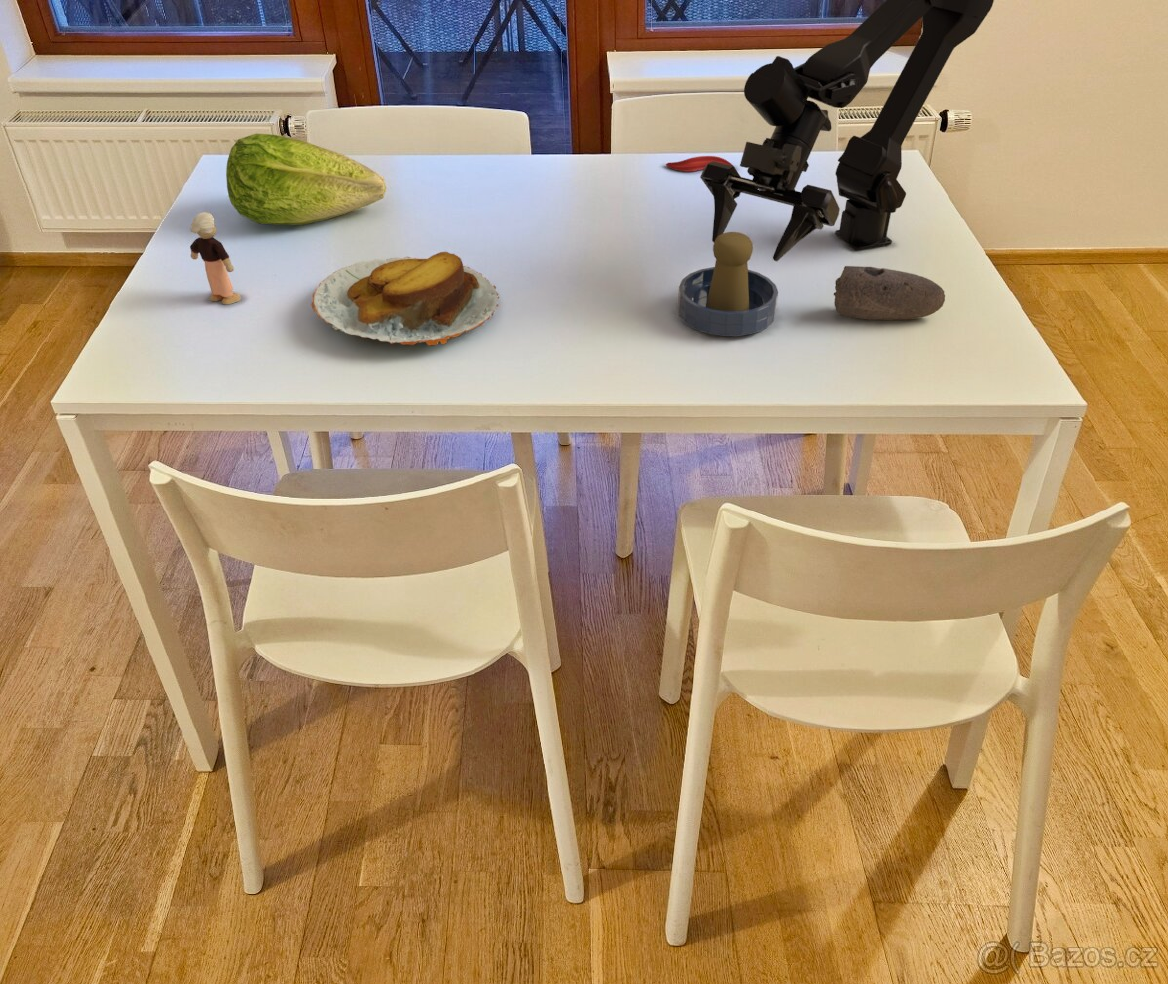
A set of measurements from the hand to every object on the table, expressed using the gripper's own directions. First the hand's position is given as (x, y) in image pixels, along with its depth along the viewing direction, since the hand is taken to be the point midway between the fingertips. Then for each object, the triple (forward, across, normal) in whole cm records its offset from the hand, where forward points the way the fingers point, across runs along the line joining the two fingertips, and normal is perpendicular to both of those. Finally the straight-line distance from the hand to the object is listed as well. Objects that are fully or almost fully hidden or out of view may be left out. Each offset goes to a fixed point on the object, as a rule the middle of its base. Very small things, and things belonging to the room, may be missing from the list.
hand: (744, 251), depth 138 cm
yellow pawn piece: (+8, 0, +3) cm, 8 cm away
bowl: (+8, 0, +3) cm, 9 cm away
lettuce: (+15, -71, -4) cm, 73 cm away
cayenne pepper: (-35, -32, +21) cm, 52 cm away
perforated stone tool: (0, +18, +12) cm, 22 cm away
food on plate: (+25, -37, -14) cm, 47 cm away
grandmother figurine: (+34, -61, -23) cm, 74 cm away
